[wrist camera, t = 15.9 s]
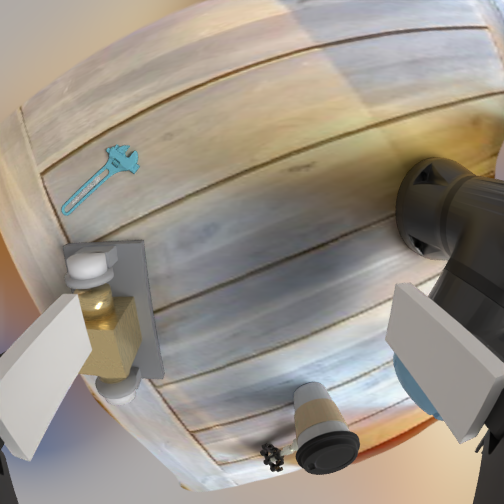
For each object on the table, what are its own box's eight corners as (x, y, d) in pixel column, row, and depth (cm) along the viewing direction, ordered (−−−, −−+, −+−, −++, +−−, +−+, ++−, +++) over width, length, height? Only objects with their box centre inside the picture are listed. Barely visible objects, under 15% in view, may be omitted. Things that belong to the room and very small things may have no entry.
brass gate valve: (130, 276, 40) (107, 306, 31) (146, 356, 43) (131, 395, 35) (80, 276, 39) (50, 304, 31) (99, 353, 43) (79, 389, 34)
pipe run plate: (143, 240, 40) (121, 263, 31) (164, 373, 46) (154, 413, 38) (67, 243, 39) (34, 264, 30) (98, 369, 46) (79, 404, 37)
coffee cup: (271, 397, 49) (283, 467, 35) (313, 364, 47) (339, 432, 33) (307, 418, 51) (324, 482, 37) (346, 389, 50) (374, 451, 36)
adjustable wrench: (123, 134, 35) (144, 164, 36) (125, 134, 36) (146, 164, 37) (52, 200, 37) (71, 228, 38) (55, 199, 38) (74, 227, 39)
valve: (311, 411, 51) (258, 439, 53) (318, 437, 45) (261, 465, 46) (328, 426, 53) (277, 452, 55) (336, 451, 47) (281, 477, 48)
